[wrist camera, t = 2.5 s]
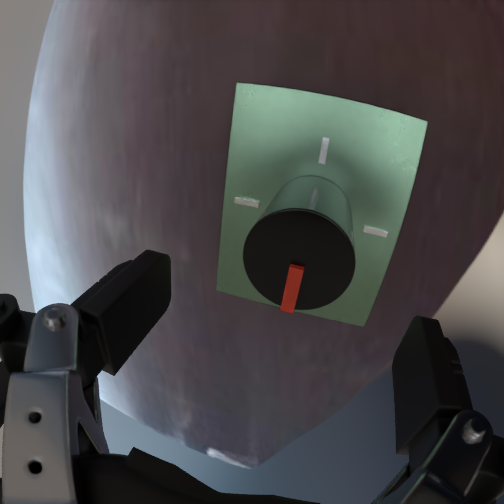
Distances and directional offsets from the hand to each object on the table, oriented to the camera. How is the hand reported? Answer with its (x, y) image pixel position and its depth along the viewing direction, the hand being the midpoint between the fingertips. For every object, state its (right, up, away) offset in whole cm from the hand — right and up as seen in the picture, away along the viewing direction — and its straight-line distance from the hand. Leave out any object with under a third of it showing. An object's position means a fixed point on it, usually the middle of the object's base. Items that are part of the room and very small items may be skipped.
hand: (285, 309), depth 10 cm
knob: (+2, +4, +7) cm, 8 cm away
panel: (+3, +5, +10) cm, 11 cm away
